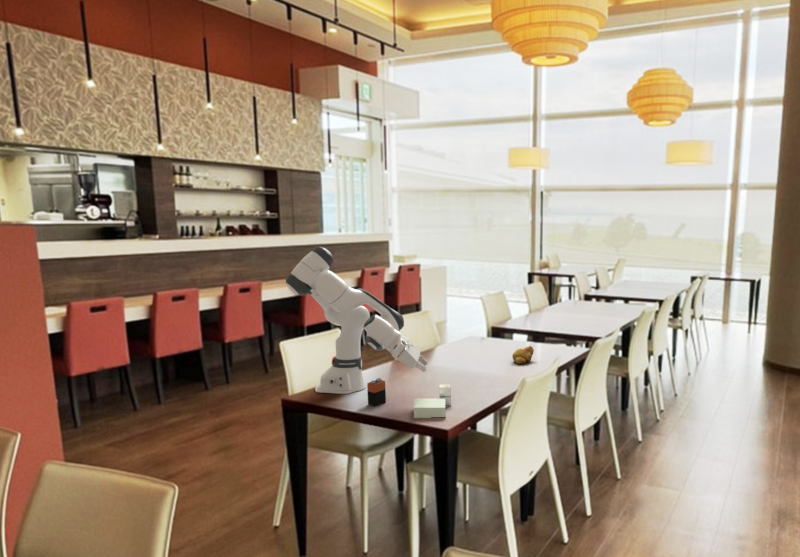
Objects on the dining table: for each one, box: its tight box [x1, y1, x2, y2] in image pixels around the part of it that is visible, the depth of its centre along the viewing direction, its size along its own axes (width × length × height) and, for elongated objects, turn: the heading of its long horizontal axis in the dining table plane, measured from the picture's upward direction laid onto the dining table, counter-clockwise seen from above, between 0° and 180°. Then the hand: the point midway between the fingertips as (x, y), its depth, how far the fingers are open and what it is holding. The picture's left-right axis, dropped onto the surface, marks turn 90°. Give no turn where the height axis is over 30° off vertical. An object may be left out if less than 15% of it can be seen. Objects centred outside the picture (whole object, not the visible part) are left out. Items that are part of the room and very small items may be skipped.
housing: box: [438, 383, 452, 406], centre depth 224 cm, size 5×5×8 cm
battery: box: [366, 377, 387, 407], centre depth 227 cm, size 4×7×10 cm, turn 140°
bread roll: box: [512, 345, 535, 365], centre depth 286 cm, size 13×10×8 cm
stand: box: [413, 397, 447, 419], centre depth 213 cm, size 12×11×4 cm
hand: (426, 367), depth 221 cm, fingers open, 8 cm apart
